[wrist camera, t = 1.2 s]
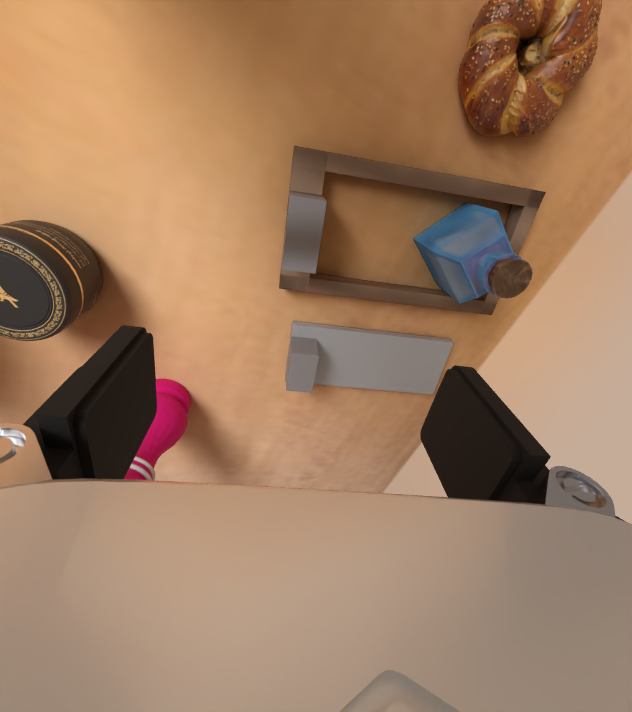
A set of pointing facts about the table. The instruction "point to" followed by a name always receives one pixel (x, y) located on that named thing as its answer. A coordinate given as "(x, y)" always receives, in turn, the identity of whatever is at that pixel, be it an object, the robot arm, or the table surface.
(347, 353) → the grey l-shaped piece
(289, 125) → the table surface
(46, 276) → the jar
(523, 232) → the rectangular wooden frame
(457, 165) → the table surface
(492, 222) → the perfume bottle
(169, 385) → the pepper mill
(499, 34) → the pretzel
